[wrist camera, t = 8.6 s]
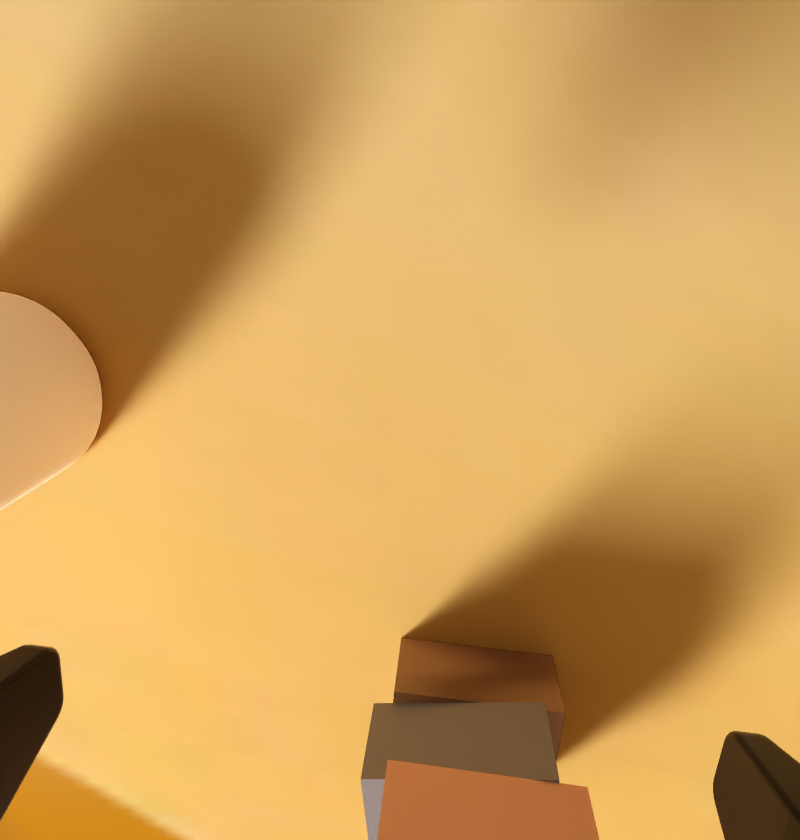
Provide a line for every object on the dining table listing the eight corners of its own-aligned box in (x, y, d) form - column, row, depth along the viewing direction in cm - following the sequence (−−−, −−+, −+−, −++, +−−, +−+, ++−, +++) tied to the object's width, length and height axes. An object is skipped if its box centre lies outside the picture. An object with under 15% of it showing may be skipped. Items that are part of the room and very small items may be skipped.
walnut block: (552, 652, 23) (565, 712, 20) (531, 772, 25) (540, 843, 22) (401, 634, 24) (394, 691, 21) (390, 753, 25) (382, 821, 22)
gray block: (545, 701, 20) (559, 779, 17) (548, 835, 22) (561, 927, 19) (373, 703, 21) (360, 779, 18) (388, 833, 22) (379, 921, 20)
